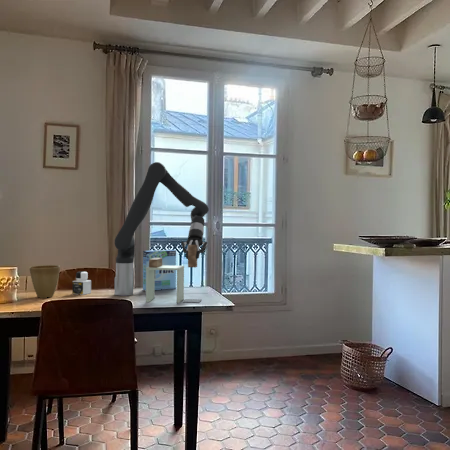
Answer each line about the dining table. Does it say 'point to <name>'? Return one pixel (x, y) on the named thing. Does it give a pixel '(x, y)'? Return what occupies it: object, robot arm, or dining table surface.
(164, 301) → the dining table surface
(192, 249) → the block
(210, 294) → the dining table surface
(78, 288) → the medicine bottle
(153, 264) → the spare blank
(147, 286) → the shelf
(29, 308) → the dining table surface
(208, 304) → the dining table surface
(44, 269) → the plant pot
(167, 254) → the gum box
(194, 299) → the mat
